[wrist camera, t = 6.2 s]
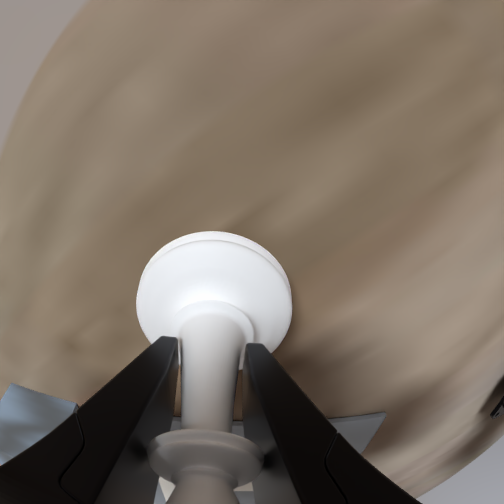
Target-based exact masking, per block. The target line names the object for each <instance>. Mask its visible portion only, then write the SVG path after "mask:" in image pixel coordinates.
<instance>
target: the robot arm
mask: <svg viewBox="0 0 504 504" xmlns="http://www.w3.org/2000/svg"><path fill="white" fill-rule="evenodd" d="M178 369H179V354H178V339H177V338H176V337H171V336H161V337H159V338H158V339H157V340H156V341H155V342H154V343H152V344H151V345H150V346H149V347H148V348H147V349H146V350H145V351H143V352H142V353H141V354H140V355H139V356H138V357H137V358H135V359H134V360H133V361H132V362H131V363H130V364H129V365H127V366H126V367H125V368H124V369H123V370H122V371H121V372H119V373H118V374H117V375H116V376H115V377H114V378H113V379H111V380H110V381H109V382H108V383H107V384H106V385H105V386H104V387H102V388H101V389H100V390H99V391H98V392H97V393H96V394H94V395H93V396H92V397H91V398H90V399H89V400H88V401H86V402H85V403H84V404H83V405H82V406H81V407H80V408H78V409H77V410H76V413H75V412H74V413H72V414H71V415H70V416H69V417H68V418H67V419H66V420H64V421H63V422H62V423H61V424H60V425H58V426H57V427H56V428H55V429H53V430H52V431H51V432H50V433H49V434H47V435H46V436H44V437H43V438H42V439H40V440H39V441H37V442H36V443H35V444H33V445H32V446H30V447H29V448H27V449H26V450H24V451H23V452H21V453H20V454H18V455H16V456H15V457H13V458H12V459H10V460H9V461H7V462H6V463H4V464H3V465H1V466H0V504H154V500H155V495H156V490H157V486H158V481H159V477H160V476H159V475H157V474H156V473H155V472H154V471H153V470H152V468H151V467H150V465H149V457H148V455H147V446H148V444H149V443H150V441H151V440H152V439H154V438H155V437H157V436H159V435H161V434H163V433H166V432H170V429H171V425H172V420H173V413H174V404H175V395H176V386H177V377H178ZM242 412H243V429H244V436H245V438H246V439H248V440H250V441H252V442H253V443H255V444H256V445H257V446H258V447H259V448H260V449H261V450H262V452H263V454H264V463H263V465H262V471H261V473H260V475H259V476H258V477H257V478H256V479H255V480H253V481H252V487H253V493H254V498H255V504H422V503H420V502H419V501H417V500H416V499H415V498H413V497H412V496H411V495H409V494H408V493H407V492H405V491H404V490H403V489H401V488H400V487H399V486H398V485H396V484H395V483H394V482H392V481H391V480H390V479H389V478H387V477H386V476H385V475H384V474H382V473H381V472H380V471H379V470H377V469H376V468H375V467H374V466H373V465H372V464H371V463H369V462H368V461H367V460H366V459H365V458H364V457H363V456H362V455H361V454H360V453H359V452H358V451H357V450H356V449H355V448H354V447H353V446H352V445H351V444H350V443H349V442H348V441H347V440H346V439H345V438H344V437H343V436H342V435H341V433H337V429H336V428H335V427H334V426H333V425H332V424H331V423H330V421H329V420H328V419H327V418H326V417H325V416H324V415H323V414H322V413H321V411H320V410H319V409H318V408H317V407H316V406H315V405H314V403H313V402H312V401H311V400H310V399H309V398H308V397H307V395H306V394H305V393H304V392H303V391H302V390H301V388H300V387H299V386H298V385H297V384H296V383H295V381H294V380H293V379H292V378H291V377H290V376H289V374H288V373H287V372H286V371H285V370H284V369H283V367H282V366H281V365H280V364H279V363H278V361H277V360H276V359H275V358H274V357H273V355H272V354H271V353H270V352H269V351H268V349H267V348H266V347H265V346H264V345H263V344H262V343H247V344H246V347H245V354H244V362H243V373H242ZM503 414H504V396H503V398H502V399H501V401H500V402H499V403H498V405H497V406H496V407H495V409H494V410H493V411H492V413H491V414H490V416H491V417H492V419H494V418H497V417H499V416H501V415H503Z"/></svg>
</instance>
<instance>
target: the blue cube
mask: <svg viewBox="0 0 504 504" xmlns="http://www.w3.org/2000/svg"><path fill="white" fill-rule="evenodd" d="M77 409H78V405H77V403H74V402H70V401H66V400H63V399H59V398H56V397H52V396H49V395H46V394H43V393H39V392H36V391H33V390H30V389H27V388H25V387H22V386H19V385H16V384H13V383H11V385H10V386H9V388H8V389H7V391H6V393H5V394H4V396H3V397H2V399H1V401H0V464H1V465H3V464H4V463H6V462H7V461H9V460H10V459H12V458H13V457H15V456H16V455H18V454H20V453H21V452H23V451H24V450H26V449H27V448H29V447H30V446H32V445H33V444H35V443H36V442H37V441H39V440H40V439H42V438H43V437H44V436H46V435H47V434H49V433H50V432H51V431H52V430H53V429H55V428H56V427H57V426H58V425H60V424H61V423H62V422H63V421H64V420H66V419H67V418H68V417H69V416H70V415H71V414H72V413H74V412H75V413H76V410H77Z"/></svg>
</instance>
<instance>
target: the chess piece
mask: <svg viewBox="0 0 504 504" xmlns="http://www.w3.org/2000/svg"><path fill="white" fill-rule="evenodd" d="M136 308H137V315H138V320H139V323H140V325H141V328H142V330H143V332H144V334H145V335H146V337H147V339H148V340H149V341H150V343H151V344H152V343H154V342H155V341H156V340H157V339H158V338H159V337H161V336H171V337H176V338H177V339H178V354H179V365H181V430H175V431H170V432H166V433H163V434H161V435H159V436H157V437H155V438H154V439H152V440H151V441H150V443H149V444H148V446H147V455H148V457H149V465H150V467H151V468H152V470H153V471H154V472H155V473H156V474H157V475H159V476H160V477H162V478H163V479H165V480H167V481H169V482H172V483H173V484H174V485H175V486H176V487H175V488H174V490H173V492H172V493H171V495H170V497H169V498H168V500H167V502H166V503H165V504H240V503H239V501H238V499H237V497H236V495H235V493H234V491H233V490H234V489H236V488H237V487H240V486H243V485H246V484H248V483H250V482H252V481H253V480H255V479H256V478H257V477H258V476H259V475H260V473H261V471H262V465H263V463H264V454H263V452H262V450H261V449H260V448H259V447H258V446H257V445H256V444H255V443H253V442H252V441H250V440H248V439H246V438H243V437H241V436H238V435H235V434H231V432H232V422H233V409H234V400H235V393H236V385H237V378H238V371H239V370H241V369H243V362H244V354H245V347H246V344H247V343H262V344H263V345H264V346H265V347H266V348H267V349H268V351H269V352H270V353H272V352H273V351H274V350H275V349H276V348H277V347H278V346H279V345H280V343H281V342H282V340H283V339H284V337H285V335H286V333H287V331H288V329H289V326H290V322H291V317H292V297H291V289H290V284H289V281H288V278H287V276H286V274H285V272H284V270H283V268H282V267H281V265H280V264H279V262H278V261H277V260H276V259H275V258H274V257H273V256H272V255H271V254H270V253H269V252H268V251H267V250H266V249H264V248H263V247H262V246H260V245H259V244H257V243H255V242H253V241H251V240H249V239H247V238H245V237H242V236H239V235H236V234H231V233H226V232H217V231H208V232H198V233H193V234H189V235H185V236H183V237H180V238H178V239H175V240H173V241H172V242H170V243H168V244H167V245H165V246H164V247H162V248H161V249H160V250H159V251H158V252H157V253H156V254H155V255H154V256H153V257H152V258H151V260H150V261H149V262H148V264H147V265H146V267H145V269H144V271H143V274H142V276H141V279H140V284H139V288H138V292H137V299H136Z"/></svg>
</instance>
